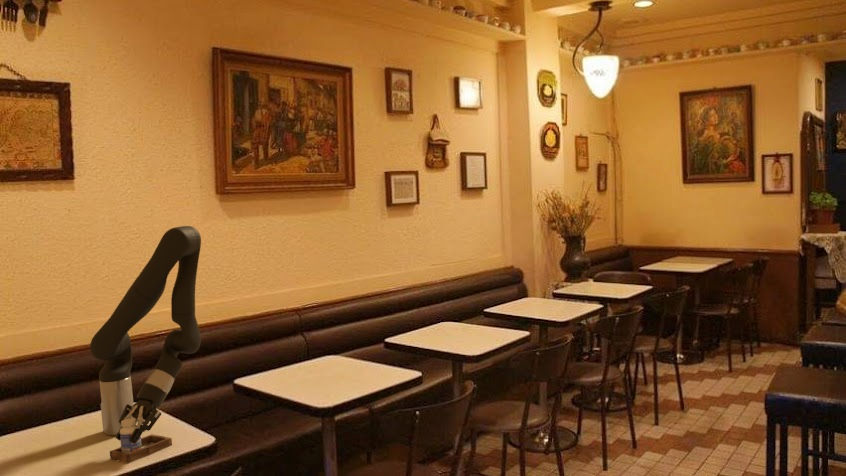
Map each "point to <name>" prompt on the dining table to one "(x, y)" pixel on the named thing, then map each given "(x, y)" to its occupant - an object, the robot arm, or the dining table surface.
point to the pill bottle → (125, 435)
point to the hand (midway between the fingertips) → (125, 440)
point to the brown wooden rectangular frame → (159, 444)
